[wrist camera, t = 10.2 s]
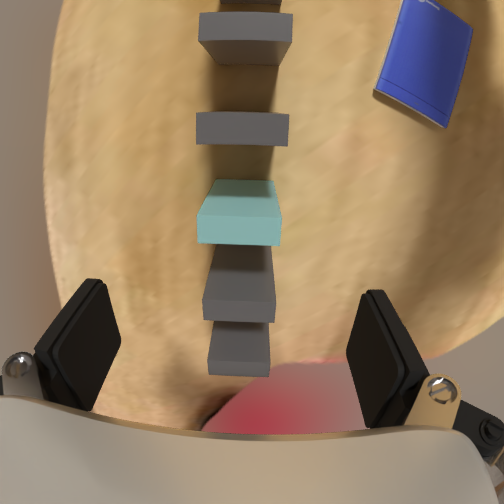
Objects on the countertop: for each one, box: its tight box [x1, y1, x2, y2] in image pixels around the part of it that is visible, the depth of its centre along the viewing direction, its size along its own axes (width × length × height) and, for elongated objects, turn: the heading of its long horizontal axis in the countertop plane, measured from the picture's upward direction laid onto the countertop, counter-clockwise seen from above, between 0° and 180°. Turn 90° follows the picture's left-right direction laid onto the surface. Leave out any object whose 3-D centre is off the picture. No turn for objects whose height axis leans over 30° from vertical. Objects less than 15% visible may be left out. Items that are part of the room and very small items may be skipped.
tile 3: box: [196, 111, 289, 146], centre depth 20 cm, size 2×5×10 cm, turn 88°
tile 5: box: [202, 244, 276, 323], centre depth 25 cm, size 2×5×10 cm, turn 88°
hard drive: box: [373, 0, 473, 128], centre depth 20 cm, size 2×8×12 cm
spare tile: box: [197, 179, 282, 246], centre depth 23 cm, size 2×5×10 cm, turn 88°
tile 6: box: [207, 321, 270, 377], centre depth 28 cm, size 2×5×10 cm, turn 88°
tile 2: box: [198, 12, 293, 66], centre depth 17 cm, size 2×5×10 cm, turn 88°
